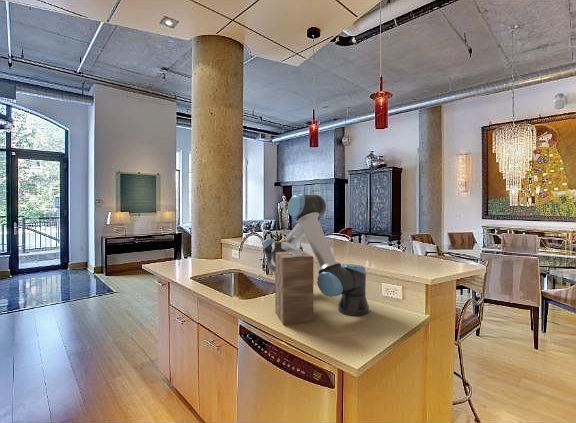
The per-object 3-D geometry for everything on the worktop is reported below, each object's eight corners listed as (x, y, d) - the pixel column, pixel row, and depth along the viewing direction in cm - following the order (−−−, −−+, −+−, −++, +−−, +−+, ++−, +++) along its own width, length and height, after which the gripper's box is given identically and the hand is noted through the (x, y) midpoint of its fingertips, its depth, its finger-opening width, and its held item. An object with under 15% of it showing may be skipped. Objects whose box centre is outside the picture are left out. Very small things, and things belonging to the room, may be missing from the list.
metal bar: (281, 247, 166) (281, 242, 166) (286, 247, 167) (286, 242, 167) (295, 256, 141) (295, 250, 141) (301, 256, 142) (301, 249, 142)
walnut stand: (275, 312, 156) (275, 251, 155) (302, 310, 160) (302, 250, 159) (283, 325, 141) (283, 257, 140) (313, 322, 144) (313, 255, 143)
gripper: (301, 263, 179) (312, 250, 161) (257, 266, 173) (263, 252, 155) (299, 251, 183) (309, 236, 165) (256, 253, 176) (262, 238, 158)
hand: (287, 244), depth 160 cm, fingers open, 13 cm apart
